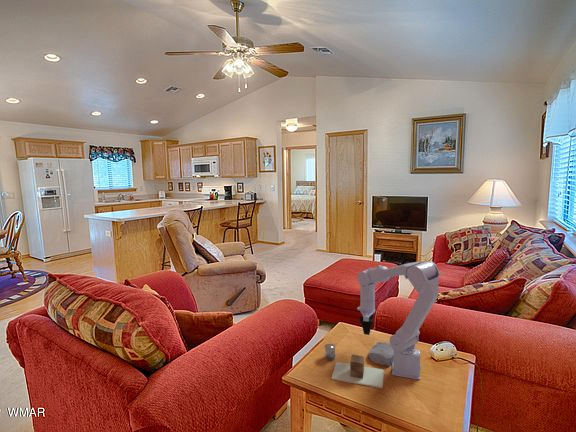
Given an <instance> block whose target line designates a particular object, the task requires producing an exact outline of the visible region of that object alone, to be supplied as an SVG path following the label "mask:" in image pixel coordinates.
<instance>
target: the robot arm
mask: <svg viewBox="0 0 576 432" xmlns="http://www.w3.org/2000/svg"><path fill="white" fill-rule="evenodd" d="M398 276H404V278H405V280H408V281H409V282H410V285H412V287H413V288H414V289H415V291H416V292H417V294H418V296H417V298H416V299H415V301H414V303H413V305H412V307H411V308H410V310H409V313H408V315H407V316H406V318H405V320H404V322H403V324H402V326H400V328H399V329H397V330H396V331H395V334H393V335H391V336H390V337H389V343H390V345H391V347H392V348H393V350H394V361H393V362H392V364H391V367H392V369H391V370H392V371H391V375H392V376H396V377H402V378H408V379H415V380H420V379H421V369H422V368H421V367H422V366H421V351H420V349H416V345H418V343H419V335H420V334H421V332H420V328H421V327H422V325H423V323H424V322H425V320H426V317H427V316H428V314H429V312H430V311H431V309H432V308H433V306H434V304H435V303H436V302H437V301H436V300H438V297H439V279H440V277H441V273H440V270H439V268H438V266H437V265H436V263H434V261H431V260H425V261H415V262H413V261H412V262H408V263H404V264H400V265H397V266H392V267H389V268H388V267H387V266H384V265H381V264H379V265H376V267H374V268H372V267H369V268H367V269H366V270H362V271H360V272H358V273H357V276H356V279H357V282H358V283H359V285H360V289H359V290H360V293H359V294H360V295H359V296H360V297H359V298H360V305H359V306H358V307H357V311H360V314H361V315H362V316H359V318H358V320H359V322H360V325H361V328H362V331H363V334H364V335H366V336H370V335H371V328H372V326H373V324H374V321H375V319H373V317H374V314H375V312H376V302H375V301H376V299H375V298H376V295H375V294H376V290H375V289H376V288H375V287H376V285H377V284H378V283H379V284H380V283H383V282H388V281H390V279H391V278H393V277H398Z"/></svg>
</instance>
